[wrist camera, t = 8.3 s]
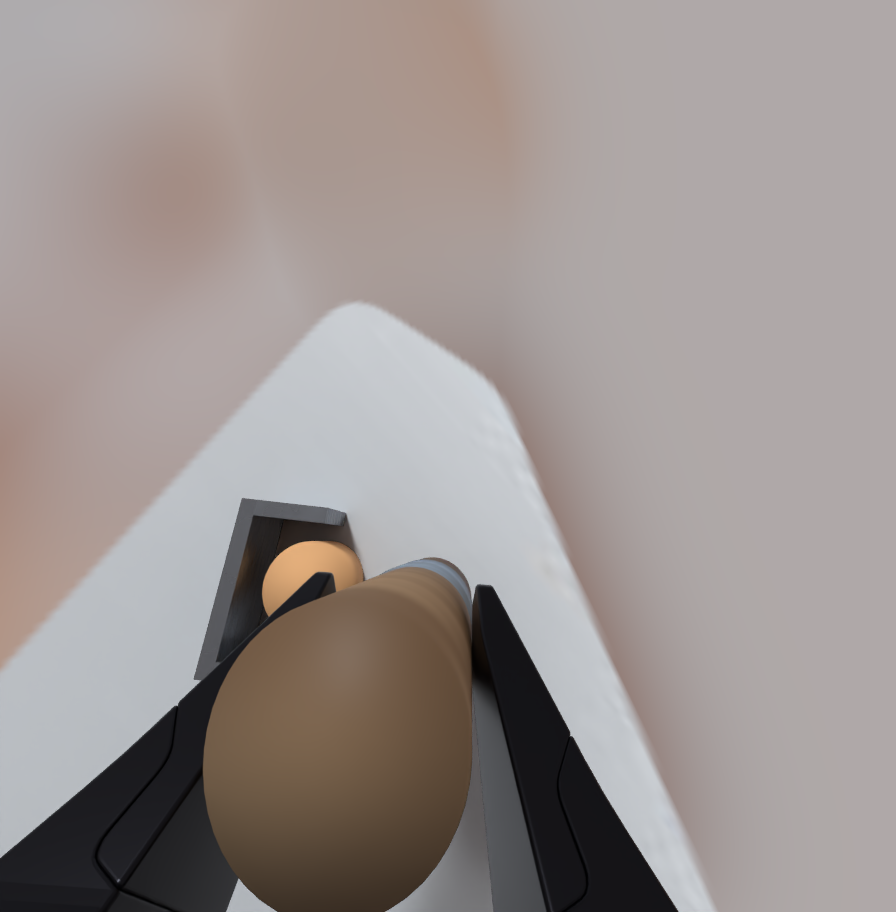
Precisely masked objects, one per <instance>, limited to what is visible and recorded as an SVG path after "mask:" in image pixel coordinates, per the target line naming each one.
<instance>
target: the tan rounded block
mask: <svg viewBox="0 0 896 912" xmlns="http://www.w3.org/2000/svg"><path fill="white" fill-rule="evenodd" d="M316 572H331V573H332V574H333V575H334V580H335V587H336V592H338V591H340V590H343V589H345V588H348V587H350V586H353V585H356V584H358V583H361V582H363V569H362V566H361V563H360V560H359V559H358V557H357V555H356V554H355V553H354V552H353V551H352V550H351V549H350V548H349V547H347V546H346V545H344V544H342V543H339V542H335V541H306V542H301V543H298V544H295V545H293V546H291V547H289V548H287V549H286V550H284V551H283V552H282V553H280V554H279V555H278V556H277V557H276V558H275V560H274V561H273V562H272V564H271V565H270V567H269V569H268V571H267V573H266V575H265V578H264V582H263V588H262V598H263V604H264V607H265V610H266V612H267V614H268V616H270V615H271V614H272V613H273V612H274V611H275V610H276V609H278V608H279V607H280V606H281V605H282V604H283V603H284V602H285V601H286V600H287V599H288V598H289V597H290V596H291V595H292V594H293V593H294V592H295V591H297V590H298V589H299V588H300V587H301V586H302V585H303V584H304V583H305V582H306V581H307V580H308V579H309V578H310V577H311V576H312V575H313V574H315V573H316Z"/></svg>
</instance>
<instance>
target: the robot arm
mask: <svg viewBox="0 0 896 912" xmlns="http://www.w3.org/2000/svg"><path fill="white" fill-rule="evenodd" d="M335 592H336V587H335V580H334V575H333V574H332V573H331V572H316V573H315V574H313V575H312V576H311V577H310V578H309V579H308V580H307V581H306V582H305V583H304V584H303V585H302V586H301V587H300V588H299V589H298V590H297V591H295V592H294V593H293V594H292V595H291V596H290V597H289V598H288V599H287V600H286V601H285V602H284V603H283V604H282V605H281V606H280V607H279V608H278V609H276V610H275V611H274V612H273V613H272V614H271V615H270V616H269V617H268V618H267V619H266V620H265V621H264V622H263V623H262V624H261V625H260V626H259V627H258V628H256V629H255V630H254V631H253V632H252V633H251V634H250V635H249V636H248V637H247V638H246V639H245V640H244V641H243V642H242V643H241V644H240V645H239V646H238V647H236V648H235V649H234V650H233V651H232V652H231V653H230V654H229V655H228V656H227V657H226V658H225V659H224V660H223V661H222V662H221V663H220V664H219V665H217V666H216V667H215V668H214V669H213V670H212V671H211V672H210V673H209V674H208V675H207V676H206V677H205V678H204V679H203V680H202V681H201V682H200V683H199V684H197V685H196V686H195V687H194V688H193V689H192V690H191V691H190V692H189V693H188V694H187V695H186V696H185V697H184V698H183V699H182V700H181V701H180V702H179V703H178V706H174V707H173V708H172V709H171V710H170V711H169V712H168V713H167V714H166V715H165V716H164V717H162V718H161V719H160V720H159V721H158V722H157V723H156V724H155V725H154V726H153V727H152V728H151V729H150V730H149V731H147V732H146V733H145V734H144V735H143V736H142V737H141V738H140V739H139V740H138V741H137V742H135V743H134V744H133V745H132V746H131V747H130V748H129V749H128V750H127V751H126V752H125V753H124V754H122V755H121V756H120V757H119V758H118V759H117V760H116V761H114V762H113V763H112V764H111V765H110V766H109V767H107V768H106V769H105V770H104V771H103V772H102V773H100V774H99V775H98V776H97V777H96V778H95V779H94V780H92V781H91V782H90V783H89V784H88V785H87V786H85V787H84V788H83V789H82V790H81V791H80V792H78V793H77V794H76V795H75V796H74V797H72V798H71V799H70V800H69V801H68V802H66V803H65V804H64V805H63V806H62V807H61V808H59V809H58V810H57V811H56V812H55V813H53V814H52V815H51V816H50V817H49V818H47V819H46V820H45V821H44V822H43V823H42V824H40V825H39V826H38V827H37V828H36V829H34V830H33V831H32V832H31V833H30V834H28V835H27V836H26V837H25V838H24V839H22V840H21V841H20V842H19V843H18V844H17V845H15V846H14V847H13V848H12V849H11V850H9V851H8V852H7V853H6V854H5V855H3V856H2V857H1V858H0V912H226V910H227V908H228V905H229V902H230V900H231V897H232V894H233V892H234V889H235V886H236V884H237V881H238V876H237V875H236V874H235V873H234V871H233V870H232V869H231V867H230V865H229V863H228V862H227V860H226V858H225V857H224V855H223V853H222V851H221V849H220V847H219V844H218V842H217V840H216V837H215V835H214V832H213V829H212V826H211V822H210V819H209V815H208V811H207V805H206V799H205V794H204V780H203V758H204V746H205V739H206V733H207V727H208V723H209V719H210V716H211V712H212V708H213V706H214V703H215V700H216V698H217V695H218V692H219V690H220V688H221V686H222V684H223V682H224V680H225V678H226V676H227V674H228V672H229V670H230V669H231V667H232V666H233V664H234V662H235V661H236V659H237V658H238V656H239V655H240V654H241V653H242V651H243V650H244V649H245V648H246V646H247V645H248V644H249V643H250V641H252V640H253V639H254V638H255V637H256V636H257V635H258V634H259V633H260V632H261V631H262V630H263V629H264V628H265V627H267V626H268V625H269V624H270V623H272V622H273V621H274V620H276V619H277V618H279V617H280V616H282V615H284V614H285V613H287V612H289V611H290V610H293V609H295V608H297V607H300V606H302V605H304V604H307V603H309V602H312V601H314V600H317V599H319V598H322V597H325V596H327V595H330V594H332V593H335ZM472 688H473V699H474V709H475V720H476V730H477V741H478V752H479V762H480V773H481V784H482V794H483V805H484V816H485V826H486V837H487V847H488V858H489V869H490V879H491V890H492V901H493V911H494V912H678V910H677V909H676V907H675V905H674V904H673V902H672V901H671V899H670V898H669V896H668V894H667V893H666V891H665V890H664V888H663V887H662V885H661V883H660V882H659V880H658V879H657V877H656V876H655V874H654V872H653V871H652V869H651V868H650V866H649V865H648V863H647V861H646V860H645V858H644V857H643V855H642V854H641V852H640V850H639V849H638V847H637V846H636V844H635V843H634V841H633V839H632V838H631V836H630V835H629V833H628V832H627V830H626V828H625V827H624V825H623V823H622V822H621V820H620V819H619V817H618V815H617V814H616V812H615V810H614V809H613V807H612V806H611V804H610V802H609V801H608V799H607V797H606V796H605V794H604V792H603V791H602V789H601V787H600V785H599V784H598V782H597V780H596V778H595V776H594V775H593V773H592V771H591V769H590V767H589V766H588V764H587V762H586V760H585V759H584V757H583V755H582V753H581V751H580V749H579V747H578V745H577V744H576V742H575V740H574V738H573V737H572V736H570V731H569V729H568V727H567V725H566V723H565V721H564V719H563V718H562V716H561V714H560V712H559V710H558V708H557V706H556V704H555V703H554V701H553V699H552V697H551V695H550V693H549V691H548V689H547V687H546V686H545V684H544V682H543V680H542V678H541V676H540V674H539V672H538V671H537V669H536V667H535V665H534V663H533V661H532V659H531V657H530V656H529V654H528V652H527V650H526V648H525V646H524V644H523V642H522V641H521V639H520V637H519V635H518V633H517V631H516V629H515V627H514V625H513V624H512V622H511V620H510V618H509V616H508V614H507V612H506V610H505V609H504V607H503V605H502V603H501V601H500V599H499V597H498V595H497V594H496V592H495V590H494V588H493V587H492V586H491V585H481V584H478V585H477V586H476V588H475V594H474V600H473V606H472Z"/></svg>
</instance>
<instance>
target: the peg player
mask: <svg viewBox="0 0 896 912" xmlns="http://www.w3.org/2000/svg"><path fill="white" fill-rule="evenodd" d="M471 766H472V600H471V591H470V587H469V584H468V581H467V579H466V578H465V576H464V574H463V573H462V572H461V571H460V570H459V568H458V567H456V566H455V565H454V564H452V563H451V562H449V561H447V560H444V559H441V558H424V559H420V560H415V561H412V562H409V563H406V564H403V565H400V566H398V567H395V568H392V569H390V570H388V571H385V572H384V573H382V574H380V575H379V576H376V577H374V578H371V579H368V580H366V581H363V582H361V583H358V584H356V585H353V586H350V587H348V588H345V589H343V590H340V591H338V592H335V593H332V594H330V595H327V596H325V597H322V598H319V599H317V600H314V601H312V602H309V603H307V604H304V605H302V606H300V607H297V608H295V609H293V610H290V611H289V612H287V613H285V614H284V615H282V616H280V617H279V618H277V619H276V620H274V621H273V622H272V623H270V624H269V625H268V626H267V627H265V628H264V629H263V630H262V631H261V632H260V633H259V634H258V635H257V636H256V637H255V638H254V639H253V640H252V641H250V643H249V644H248V645H247V646H246V648H245V649H244V650H243V651H242V653H241V654H240V655H239V656H238V658H237V659H236V661H235V662H234V664H233V666H232V667H231V669H230V670H229V672H228V674H227V676H226V678H225V680H224V682H223V684H222V686H221V688H220V690H219V692H218V695H217V698H216V700H215V703H214V706H213V708H212V712H211V716H210V719H209V723H208V727H207V733H206V739H205V746H204V758H203V780H204V794H205V799H206V805H207V811H208V815H209V819H210V822H211V826H212V829H213V832H214V835H215V837H216V840H217V842H218V844H219V847H220V849H221V851H222V853H223V855H224V857H225V858H226V860H227V862H228V863H229V865H230V867H231V869H232V870H233V871H234V873H235V874H236V875H237V876H238V878H239V879H240V880H241V882H242V883H243V884H244V885H245V886H246V887H247V888H248V889H249V890H250V891H251V892H252V893H253V894H254V895H255V896H256V897H257V898H258V899H259V900H261V901H262V902H264V903H265V904H267V905H268V906H270V907H271V908H273V909H274V910H276V911H277V912H385V911H387V910H389V909H391V908H392V907H394V906H395V905H397V904H398V903H400V902H401V901H403V900H404V899H405V898H407V897H408V896H409V895H410V894H411V893H412V892H413V891H415V890H416V889H417V888H418V887H419V886H420V885H421V884H422V883H423V882H424V881H425V880H426V878H427V877H428V876H429V875H430V874H431V872H432V871H433V870H434V869H435V868H436V866H437V865H438V863H439V862H440V860H441V858H442V857H443V855H444V854H445V852H446V850H447V849H448V847H449V845H450V843H451V841H452V839H453V837H454V835H455V832H456V830H457V828H458V826H459V823H460V820H461V817H462V814H463V811H464V808H465V804H466V799H467V795H468V790H469V785H470V777H471Z"/></svg>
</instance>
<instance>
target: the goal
mask: <svg viewBox="0 0 896 912" xmlns="http://www.w3.org/2000/svg"><path fill="white" fill-rule="evenodd" d="M345 515H346V513H344V512H340V511H337V510H333V509H330V508H324V507H315V506H306V505H298V504H289V503H280V502H271V501H263V500H254V499H245V498H242V500H241V504H240V508H239V512H238V515H237V519H236V523H235V527H234V530H233V534H232V538H231V542H230V545H229V549H228V553H227V556H226V560H225V564H224V568H223V571H222V575H221V579H220V583H219V586H218V590H217V594H216V598H215V601H214V605H213V609H212V613H211V616H210V620H209V624H208V628H207V631H206V635H205V639H204V643H203V646H202V650H201V654H200V657H199V661H198V665H197V669H196V672H195V676H194V680H203V679H204V678H205V677H206V676H207V675H208V674H209V673H210V672H211V671H212V670H213V669H214V668H215V667H216V666H217V665H219V664H220V663H221V662H222V661H223V660H224V659H225V658H226V657H227V656H228V655H229V654H230V653H231V652H232V651H233V650H234V649H235V648H236V647H238V646H239V645H240V644H241V643H242V642H243V641H244V640H245V639H246V638H247V637H248V636H249V635H250V634H251V633H252V632H253V631H254V630H255V629H256V628H258V626H259V621H260V617H261V613H262V608H263V598H262V588H263V582H264V578H265V575H266V573H267V571H268V569H269V567H270V565H271V564H272V562H273V561H274V557H275V552H276V548H277V544H278V540H279V535H280V531H281V527H282V522H283V519H287V520H295V521H304V522H313V523H322V524H331V525H339V526H343V525H344V520H345Z"/></svg>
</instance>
